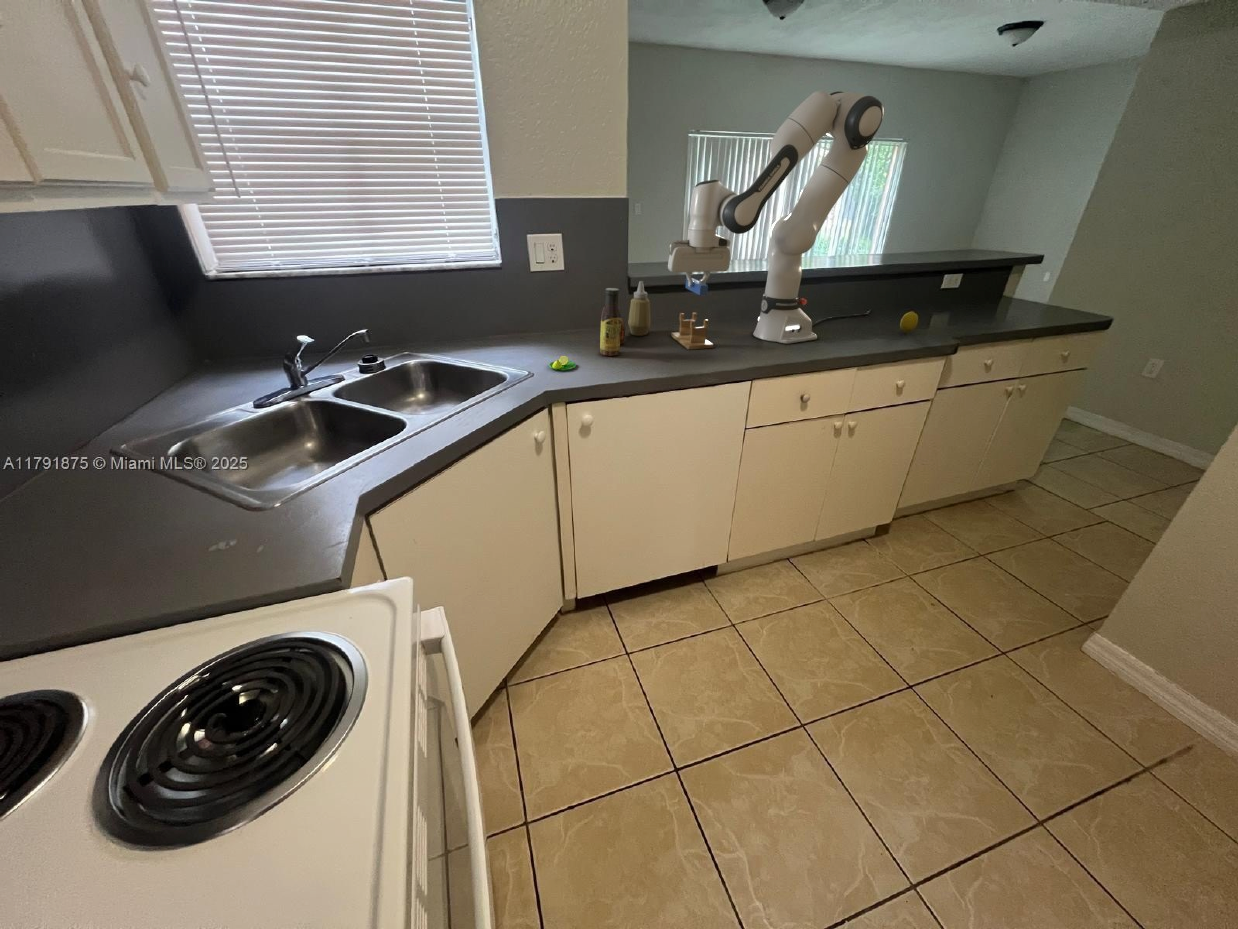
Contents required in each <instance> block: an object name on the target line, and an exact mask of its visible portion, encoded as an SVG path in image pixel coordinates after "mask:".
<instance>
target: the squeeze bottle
mask: <svg viewBox="0 0 1238 929" xmlns="http://www.w3.org/2000/svg"><path fill="white" fill-rule="evenodd" d="M651 322H652V321H651V302H650V300H649V299H648V292H647V291H645V287H644V281H643V280H639V282H638V286H637V290H636V291H634V292H633V298H632V299H630V306H629V313H628V321H627V324H628V327H629V331H630V334H631V335H633V336H639V337H642V336H646V335H647V334H648V333H649V330H650V328H651V325H652V323H651Z"/></svg>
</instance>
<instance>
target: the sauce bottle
mask: <svg viewBox="0 0 1238 929" xmlns="http://www.w3.org/2000/svg"><path fill="white" fill-rule="evenodd" d="M619 295H620V289H619V288H616V287H607V288H605V305H604V306H603V308H602V311H601V319H600V334H599V335H600V338H599V352H600V355H602V356H605V357H615V356H619V353H620V349H621V348H620V347H621V344H620V330H621V319H622V315H621V309H620V307H619Z"/></svg>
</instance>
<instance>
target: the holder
mask: <svg viewBox="0 0 1238 929" xmlns="http://www.w3.org/2000/svg"><path fill="white" fill-rule="evenodd" d="M697 319H698V313H697V312H692V315H691V319H685V313H683V312H680V313H679V318H678V320H679V331H677V332H670V333H671V335H670V336H671V337H672V338H673V339H674V340H675V341H677V342H678V343H680V344H681V346H683V347H684V348H685V349H687V350H702V349H714V344H715V343H713V342H711V341H709V340H708V339H707V338H706V337H707V331H708V329H709V322H710V320H709V319H703V325H702V326H696V321H697Z"/></svg>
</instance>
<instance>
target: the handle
mask: <svg viewBox="0 0 1238 929" xmlns="http://www.w3.org/2000/svg"><path fill="white" fill-rule="evenodd" d="M691 279H692V280H693V281H695V283H694V287H689V286H688V279H687V278H686V279H685V280H686V281H685V289H686V290H689V291H691V292H692V293H694V294H696V295H698V296H708V291H709V285H708V284H704V283H702V282H700V280H698V279H695V278H693V277H691Z"/></svg>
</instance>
